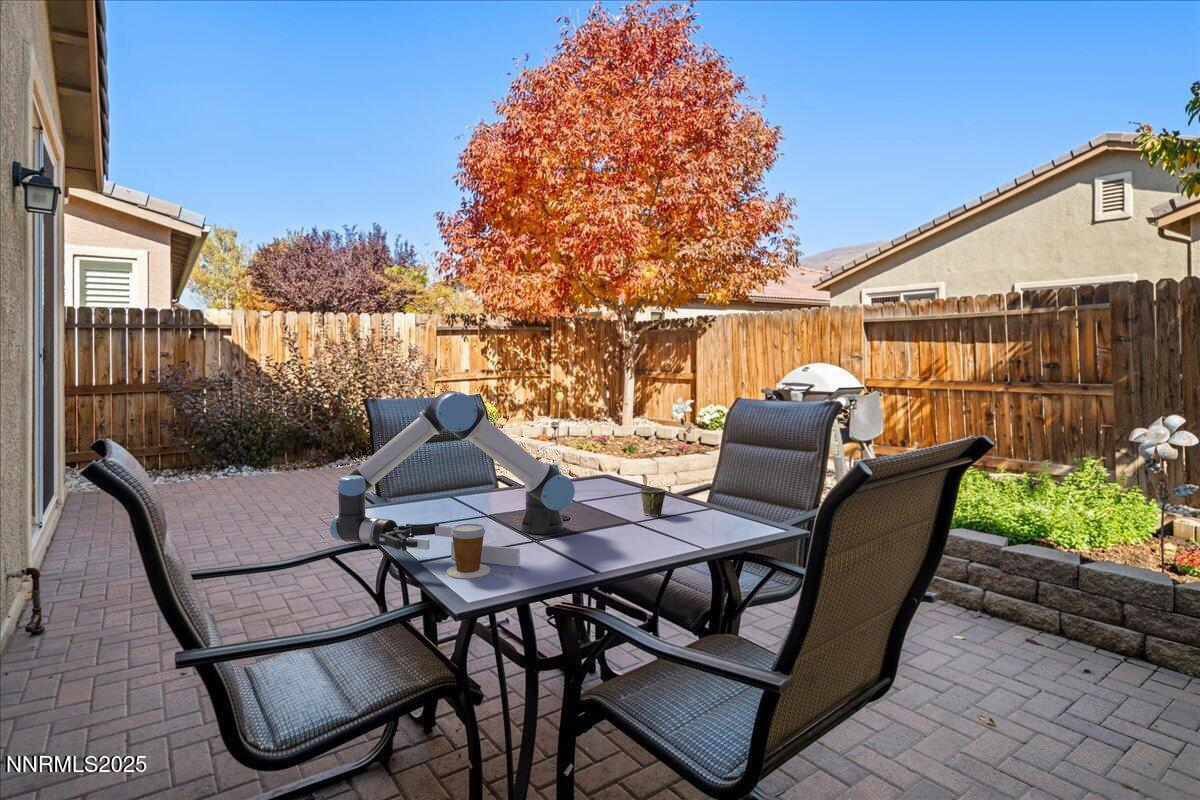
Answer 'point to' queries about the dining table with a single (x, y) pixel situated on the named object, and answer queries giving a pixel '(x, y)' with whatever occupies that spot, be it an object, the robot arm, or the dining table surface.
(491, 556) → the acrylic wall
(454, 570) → the mat
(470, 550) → the disposable coffee cup
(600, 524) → the dining table surface
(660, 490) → the ceramic cup
